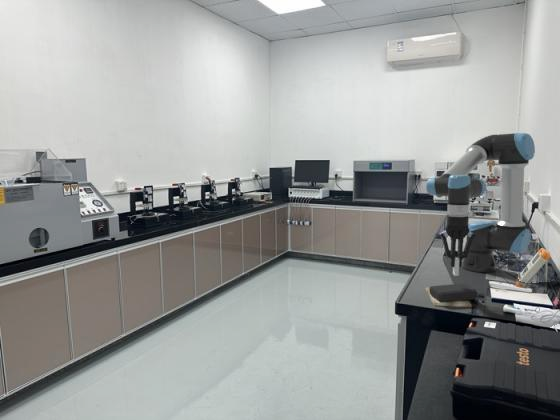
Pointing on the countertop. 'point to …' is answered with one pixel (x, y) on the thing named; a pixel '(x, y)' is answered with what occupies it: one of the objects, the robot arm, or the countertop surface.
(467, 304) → the birch board
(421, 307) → the countertop surface
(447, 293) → the card reader
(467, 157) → the robot arm
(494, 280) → the countertop surface
